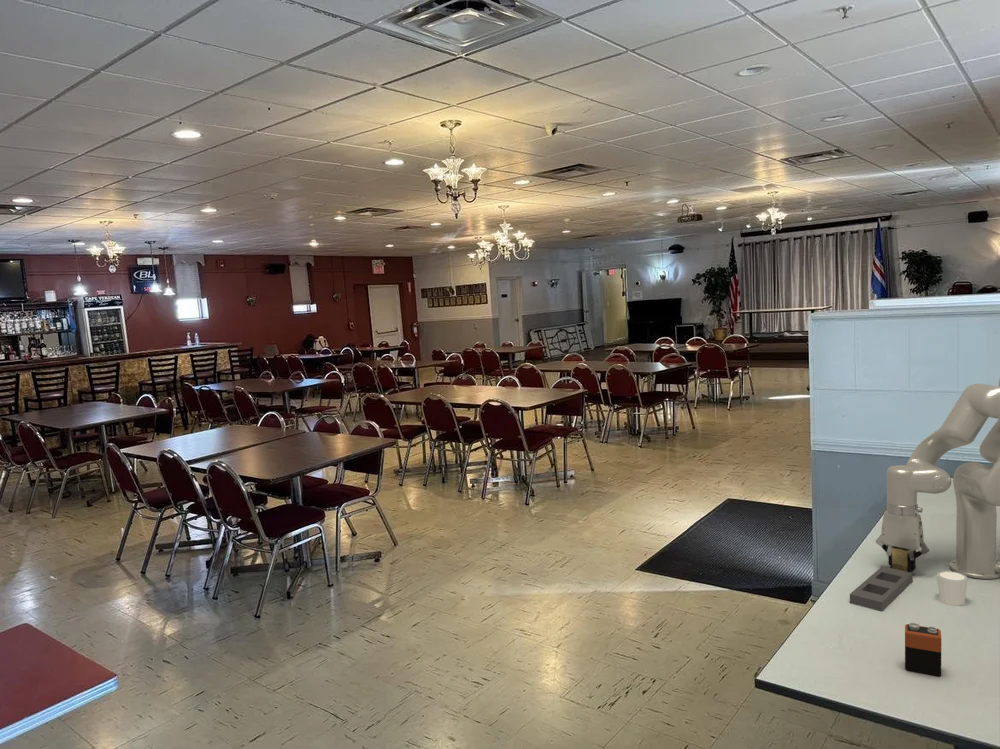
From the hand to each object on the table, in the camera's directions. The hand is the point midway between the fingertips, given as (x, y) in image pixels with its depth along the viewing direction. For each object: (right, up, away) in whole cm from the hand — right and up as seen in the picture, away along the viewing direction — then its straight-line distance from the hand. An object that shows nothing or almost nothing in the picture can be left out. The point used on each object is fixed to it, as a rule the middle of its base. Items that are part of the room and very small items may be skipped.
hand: (901, 569), depth 203 cm
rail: (-12, -3, -11) cm, 16 cm away
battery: (-23, -9, -49) cm, 55 cm away
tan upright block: (0, -1, 0) cm, 1 cm away
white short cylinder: (+3, -4, -18) cm, 19 cm away
